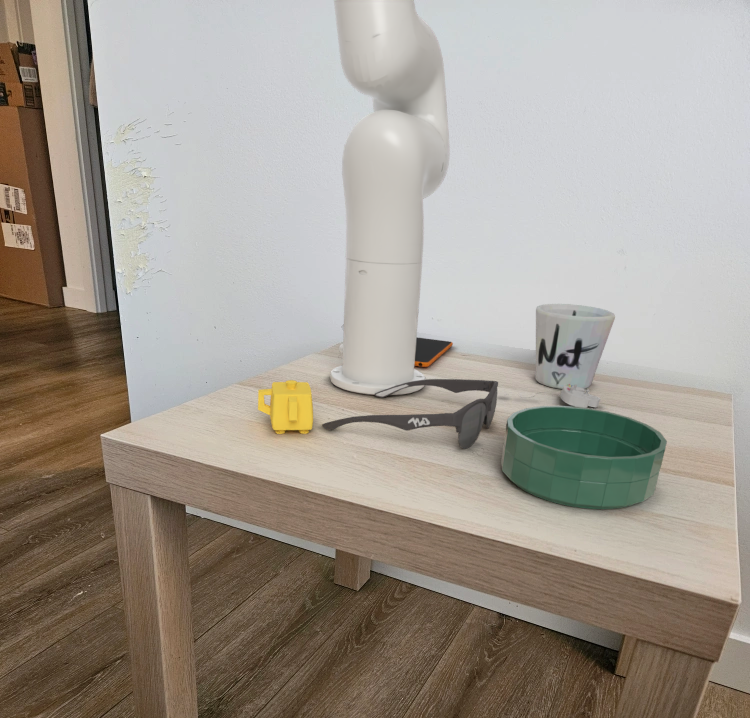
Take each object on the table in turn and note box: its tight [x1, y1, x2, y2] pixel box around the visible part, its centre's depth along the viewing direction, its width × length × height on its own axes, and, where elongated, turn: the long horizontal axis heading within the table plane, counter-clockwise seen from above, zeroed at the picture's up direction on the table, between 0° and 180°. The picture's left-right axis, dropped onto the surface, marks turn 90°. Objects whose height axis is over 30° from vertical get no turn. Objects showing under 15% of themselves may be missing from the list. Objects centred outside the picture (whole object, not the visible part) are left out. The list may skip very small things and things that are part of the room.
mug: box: [535, 303, 616, 390], centre depth 95 cm, size 10×15×10 cm
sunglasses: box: [321, 378, 499, 450], centre depth 75 cm, size 16×17×5 cm
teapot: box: [257, 379, 314, 435], centre depth 71 cm, size 8×6×5 cm
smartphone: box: [414, 336, 454, 368], centre depth 106 cm, size 8×17×1 cm, turn 161°
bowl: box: [500, 405, 668, 510], centre depth 63 cm, size 14×14×5 cm
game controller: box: [505, 384, 602, 409], centre depth 84 cm, size 6×12×3 cm, turn 100°
